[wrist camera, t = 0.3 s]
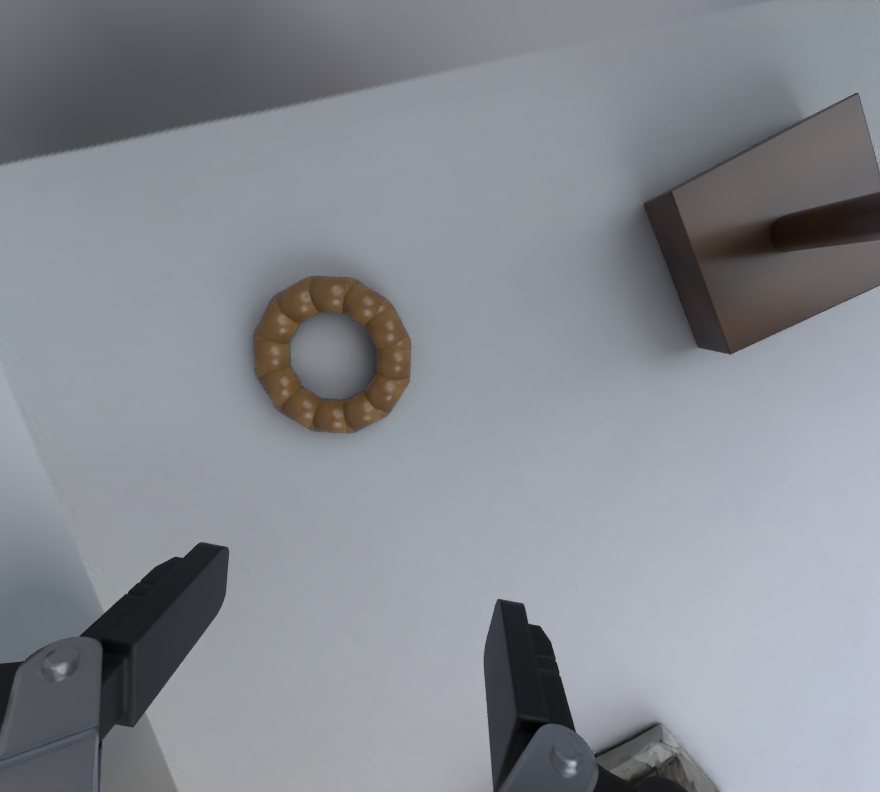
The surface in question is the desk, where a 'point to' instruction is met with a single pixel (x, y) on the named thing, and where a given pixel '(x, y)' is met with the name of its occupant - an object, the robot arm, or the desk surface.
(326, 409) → the segmented donut ring
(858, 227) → the peg stand
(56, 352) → the desk surface
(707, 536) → the desk surface
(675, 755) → the packaged product
